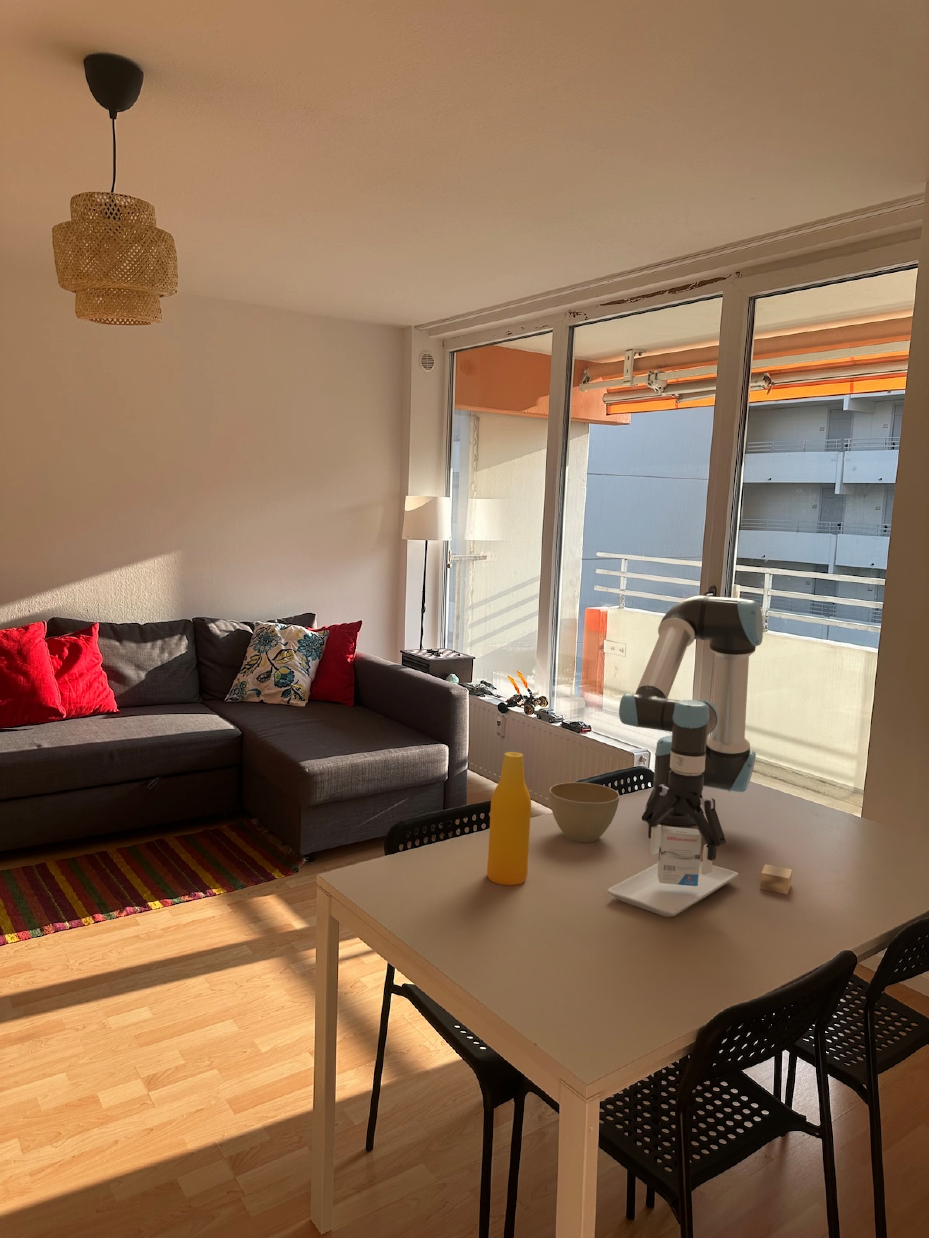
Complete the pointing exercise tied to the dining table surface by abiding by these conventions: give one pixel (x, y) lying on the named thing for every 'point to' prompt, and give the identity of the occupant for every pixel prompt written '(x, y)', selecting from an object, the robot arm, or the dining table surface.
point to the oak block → (776, 879)
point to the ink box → (679, 856)
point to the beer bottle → (509, 824)
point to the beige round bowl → (583, 809)
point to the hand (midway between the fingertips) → (679, 863)
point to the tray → (668, 890)
